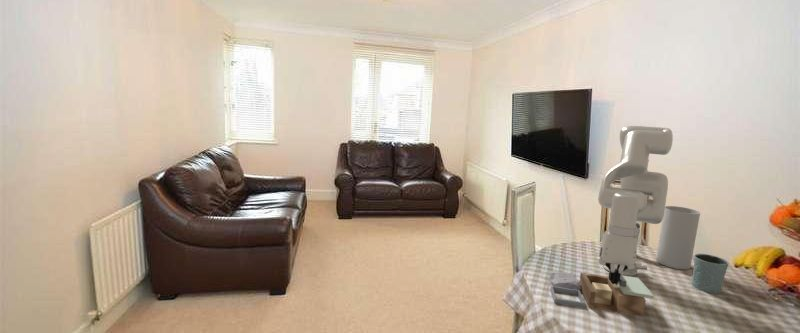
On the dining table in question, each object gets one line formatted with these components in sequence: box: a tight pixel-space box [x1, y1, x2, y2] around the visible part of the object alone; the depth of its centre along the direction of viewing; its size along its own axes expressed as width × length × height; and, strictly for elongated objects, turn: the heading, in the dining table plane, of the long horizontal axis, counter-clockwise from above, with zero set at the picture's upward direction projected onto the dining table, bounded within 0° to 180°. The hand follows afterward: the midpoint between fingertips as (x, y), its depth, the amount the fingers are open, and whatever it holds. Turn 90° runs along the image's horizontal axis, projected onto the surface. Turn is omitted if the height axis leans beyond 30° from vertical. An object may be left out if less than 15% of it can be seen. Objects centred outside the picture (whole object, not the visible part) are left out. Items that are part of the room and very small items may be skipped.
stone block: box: [549, 271, 581, 292], centre depth 140 cm, size 12×5×10 cm
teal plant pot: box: [691, 253, 730, 294], centre depth 143 cm, size 10×10×12 cm
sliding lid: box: [617, 275, 655, 299], centre depth 126 cm, size 8×14×3 cm, turn 166°
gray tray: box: [549, 285, 586, 309], centre depth 128 cm, size 9×9×2 cm
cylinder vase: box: [655, 205, 701, 270], centre depth 164 cm, size 12×12×25 cm
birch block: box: [592, 282, 612, 305], centre depth 128 cm, size 5×5×5 cm
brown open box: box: [579, 272, 647, 317], centre depth 128 cm, size 16×15×6 cm
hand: (613, 282), depth 126 cm, fingers closed
